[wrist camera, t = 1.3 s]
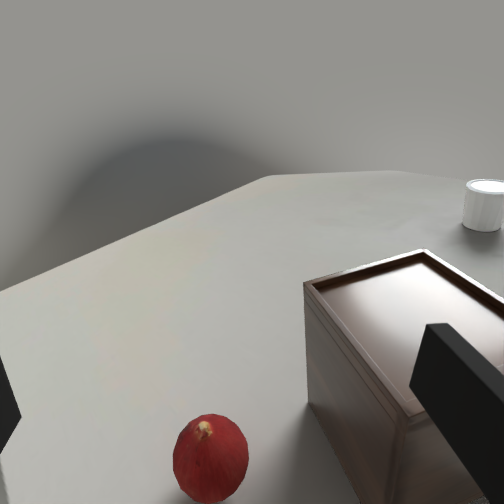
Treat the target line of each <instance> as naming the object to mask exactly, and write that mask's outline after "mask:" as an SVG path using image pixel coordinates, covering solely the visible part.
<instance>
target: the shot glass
mask: <svg viewBox="0 0 504 504" xmlns="http://www.w3.org/2000/svg"><path fill="white" fill-rule="evenodd" d="M503 220H504V181H501V180H495V179H478V180H472V181H470V182H468V183H467V185H466V194H465V202H464V211H463V220H462V224H463V225H464V226H465V227H467V228H469V229H472V230H475V231H482V232H492V231H496V230H498V229H499V228H500V227H501V225H502V222H503Z"/></svg>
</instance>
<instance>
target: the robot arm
mask: <svg viewBox="0 0 504 504" xmlns="http://www.w3.org/2000/svg"><path fill="white" fill-rule="evenodd" d="M409 388H410V389H411V391H412V392H413V394H414V395H415V396H416V398H417V399H418V401H419V402H420V404H421V405H422V406H423V408H424V409H425V411H426V412H427V414H428V415H429V416H430V418H431V419H432V421H433V422H434V424H435V425H436V426H437V428H438V429H439V431H440V432H441V434H442V435H443V436H444V438H445V439H446V441H447V442H448V444H449V445H450V446H451V448H452V449H453V451H454V452H455V454H456V455H457V456H458V458H459V459H460V461H461V462H462V464H463V465H464V466H465V468H466V469H467V471H468V472H469V474H470V475H471V476H472V478H473V479H474V481H475V482H476V484H477V485H478V487H479V488H480V489H481V491H482V492H483V494H484V495H485V497H486V498H487V499H488V501H489V502H490V504H504V375H503V374H502V373H501V372H500V371H499V370H498V369H497V368H496V367H495V366H493V365H492V364H491V363H490V362H489V361H488V360H487V359H486V358H485V357H484V356H483V355H482V354H481V353H480V352H478V351H477V350H476V349H475V348H474V347H473V346H472V345H471V344H470V343H469V342H468V341H467V340H466V339H465V338H463V337H462V336H461V335H460V334H459V333H458V332H457V331H456V330H455V329H454V328H453V327H452V326H451V325H450V324H448V323H433V324H426V326H425V330H424V333H423V337H422V341H421V344H420V348H419V351H418V355H417V358H416V362H415V365H414V369H413V372H412V376H411V380H410V383H409ZM20 419H21V414H20V411H19V408H18V405H17V402H16V400H15V397H14V394H13V391H12V388H11V386H10V383H9V380H8V377H7V374H6V371H5V369H4V366H3V363H2V360H1V357H0V454H1V452H2V450H3V448H4V447H5V445H6V443H7V442H8V440H9V438H10V436H11V435H12V433H13V431H14V429H15V428H16V426H17V424H18V423H19V421H20Z"/></svg>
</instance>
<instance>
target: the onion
mask: <svg viewBox="0 0 504 504" xmlns="http://www.w3.org/2000/svg"><path fill="white" fill-rule="evenodd" d="M248 461H249V454H248V444H247V441H246V438H245V437H244V435H243V433H242V432H241V430H240V429H239V427H238V426H237V425H236V424H235V423H234V422H232V421H231V420H230V419H228V418H227V417H224V416H221V415H216V414H208V415H201V416H200V417H198V418H196V419H194V420H192V421H191V422H189V424H188V425H187V426H186V427H185V428H184V429H183V430H182V432H181V433H180V434H179V436H178V439H177V442H176V445H175V448H174V451H173V471H174V474H175V477H176V479H177V481H178V484H179V486H180V488H181V489H182V490H183V491H184V492H185V493H186V494H187V495H189V496H190V497H191V498H192V499H193V500H194V501H196V502H201V503H205V504H211V503H215V502H220V501H223V500H224V499H226V498H227V497H229V496H230V495H232V494H233V493H234V492H235V491H236V490H237V488H238V487H239V485H240V484H241V482H242V481H243V479H244V478H245V474H246V470H247V467H248Z"/></svg>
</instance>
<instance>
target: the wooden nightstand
mask: <svg viewBox="0 0 504 504" xmlns="http://www.w3.org/2000/svg"><path fill="white" fill-rule="evenodd" d="M303 288H304V289H303V290H304V314H305V338H306V363H307V387H308V402H309V404H310V406H311V408H312V410H313V411H314V413H315V415H316V417H317V419H318V421H319V423H320V425H321V427H322V429H323V431H324V433H325V435H326V436H327V438H328V440H329V442H330V444H331V446H332V448H333V450H334V452H335V454H336V456H337V458H338V459H339V461H340V463H341V465H342V467H343V469H344V471H345V473H346V475H347V477H348V479H349V481H350V482H351V484H352V486H353V488H354V490H355V492H356V494H357V496H358V498H359V500H360V502H361V504H467V503H469V502H471V501H473V500H476V499H478V498H480V497H482V496H484V494H483V492H482V491H481V489H480V488H479V487H478V485H477V484H476V482H475V481H474V479H473V478H472V476H471V475H470V474H469V472H468V471H467V469H466V468H465V466H464V465H463V464H462V462H461V461H460V459H459V458H458V456H457V455H456V454H455V452H454V451H453V449H452V448H451V446H450V445H449V444H448V442H447V441H446V439H445V438H444V436H443V435H442V434H441V432H440V431H439V429H438V428H437V426H436V425H435V424H434V422H433V421H432V419H431V418H430V416H429V415H428V414H427V412H426V411H425V409H424V408H423V406H422V405H421V404H420V402H419V401H418V399H417V398H416V396H415V395H414V394H413V392H412V391H411V389H410V388H409V383H410V380H411V376H412V372H413V369H414V365H415V362H416V358H417V355H418V351H419V348H420V344H421V341H422V337H423V333H424V330H425V326H426V324H433V323H448V324H450V325H451V326H452V327H453V328H454V329H455V330H456V331H457V332H458V333H459V334H460V335H461V336H462V337H463V338H465V339H466V340H467V341H468V342H469V343H470V344H471V345H472V346H473V347H474V348H475V349H476V350H477V351H478V352H480V353H481V354H482V355H483V356H484V357H485V358H486V359H487V360H488V361H489V362H490V363H491V364H492V365H493V366H495V367H496V368H497V369H498V370H499V371H500V372H501V373H502V374H503V375H504V298H502V297H500V296H499V295H497V294H496V293H494V292H493V291H491V290H489V289H488V288H486V287H485V286H483V285H482V284H480V283H478V282H477V281H475V280H474V279H472V278H471V277H469V276H467V275H466V274H464V273H463V272H461V271H460V270H458V269H456V268H455V267H453V266H452V265H450V264H449V263H447V262H445V261H444V260H442V259H441V258H439V257H437V256H436V255H434V254H433V253H431V252H430V251H428V250H426V249H425V248H422V249H419V250H415V251H412V252H408V253H404V254H401V255H397V256H394V257H390V258H387V259H383V260H380V261H376V262H373V263H369V264H366V265H362V266H359V267H355V268H352V269H348V270H345V271H341V272H338V273H334V274H331V275H327V276H324V277H320V278H317V279H313V280H310V281H306V282H303Z"/></svg>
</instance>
